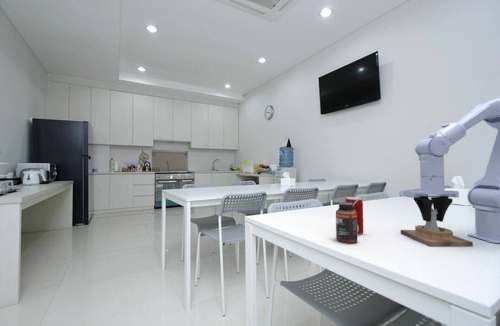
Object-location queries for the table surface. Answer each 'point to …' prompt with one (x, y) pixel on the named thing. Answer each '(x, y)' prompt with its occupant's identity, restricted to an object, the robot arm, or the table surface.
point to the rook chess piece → (432, 222)
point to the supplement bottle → (346, 223)
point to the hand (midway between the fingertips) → (432, 220)
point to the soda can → (359, 210)
